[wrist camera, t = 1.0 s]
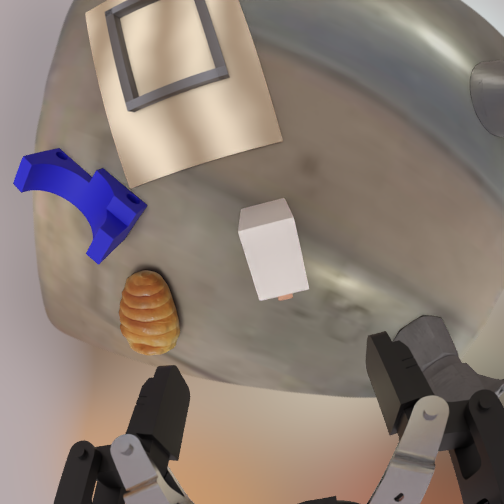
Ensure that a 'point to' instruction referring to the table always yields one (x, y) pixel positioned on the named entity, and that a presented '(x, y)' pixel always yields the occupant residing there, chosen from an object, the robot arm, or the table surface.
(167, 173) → the board
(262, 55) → the table surface
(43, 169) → the cable clip
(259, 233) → the keyed plug
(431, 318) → the coffeepot
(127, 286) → the pastry
